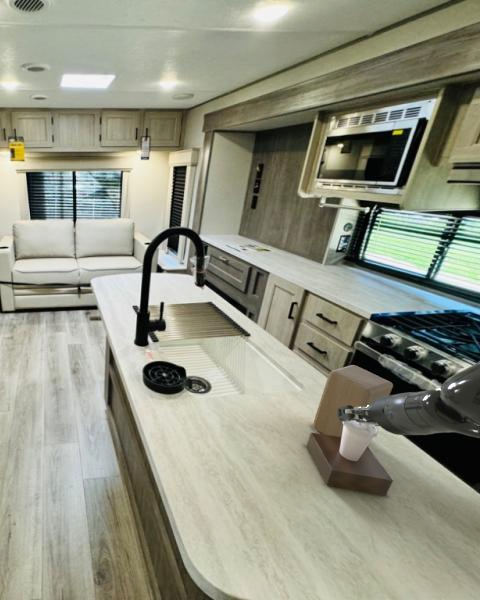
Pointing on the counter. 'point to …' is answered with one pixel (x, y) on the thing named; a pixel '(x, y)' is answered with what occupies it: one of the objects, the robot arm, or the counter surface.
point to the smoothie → (356, 439)
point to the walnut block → (347, 466)
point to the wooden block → (347, 396)
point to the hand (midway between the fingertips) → (356, 418)
